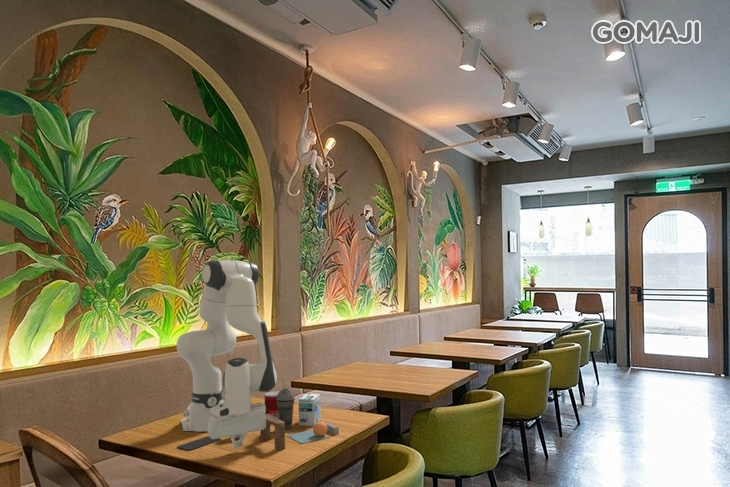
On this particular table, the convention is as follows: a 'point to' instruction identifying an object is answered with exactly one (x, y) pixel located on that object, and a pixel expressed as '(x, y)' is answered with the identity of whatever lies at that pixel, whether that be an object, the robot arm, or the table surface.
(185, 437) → the table surface
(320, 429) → the ball
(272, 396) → the canned food
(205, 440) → the phone
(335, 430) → the wall
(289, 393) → the beverage cup
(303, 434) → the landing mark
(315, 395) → the light bulb box
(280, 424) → the bridge
